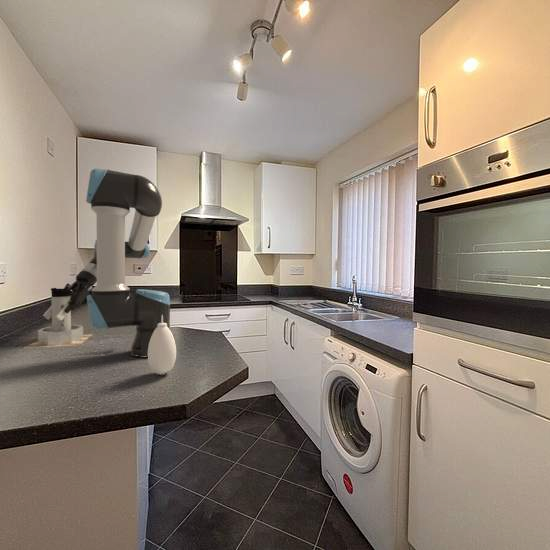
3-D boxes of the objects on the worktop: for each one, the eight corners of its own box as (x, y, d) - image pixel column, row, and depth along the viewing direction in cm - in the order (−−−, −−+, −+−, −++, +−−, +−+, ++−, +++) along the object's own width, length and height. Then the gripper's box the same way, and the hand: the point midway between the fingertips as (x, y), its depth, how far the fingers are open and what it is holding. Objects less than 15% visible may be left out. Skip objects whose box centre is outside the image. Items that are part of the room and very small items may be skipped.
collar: (75, 344, 115) (75, 331, 115) (31, 346, 111) (31, 333, 111) (87, 335, 129) (87, 324, 129) (48, 337, 125) (48, 325, 125)
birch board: (78, 348, 114) (78, 344, 114) (23, 351, 109) (23, 348, 109) (93, 337, 131) (93, 334, 131) (45, 339, 126) (45, 336, 126)
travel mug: (57, 335, 123) (56, 287, 122) (74, 335, 123) (73, 287, 123) (47, 339, 116) (46, 288, 116) (65, 338, 117) (64, 288, 116)
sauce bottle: (159, 381, 83) (159, 317, 82) (142, 375, 87) (142, 315, 86) (181, 373, 89) (181, 314, 89) (164, 368, 93) (164, 311, 93)
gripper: (111, 282, 131) (76, 325, 116) (79, 280, 137) (42, 321, 122) (100, 270, 126) (62, 313, 111) (67, 269, 132) (27, 310, 117)
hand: (52, 318), depth 116 cm, fingers closed on travel mug, 6 cm apart
